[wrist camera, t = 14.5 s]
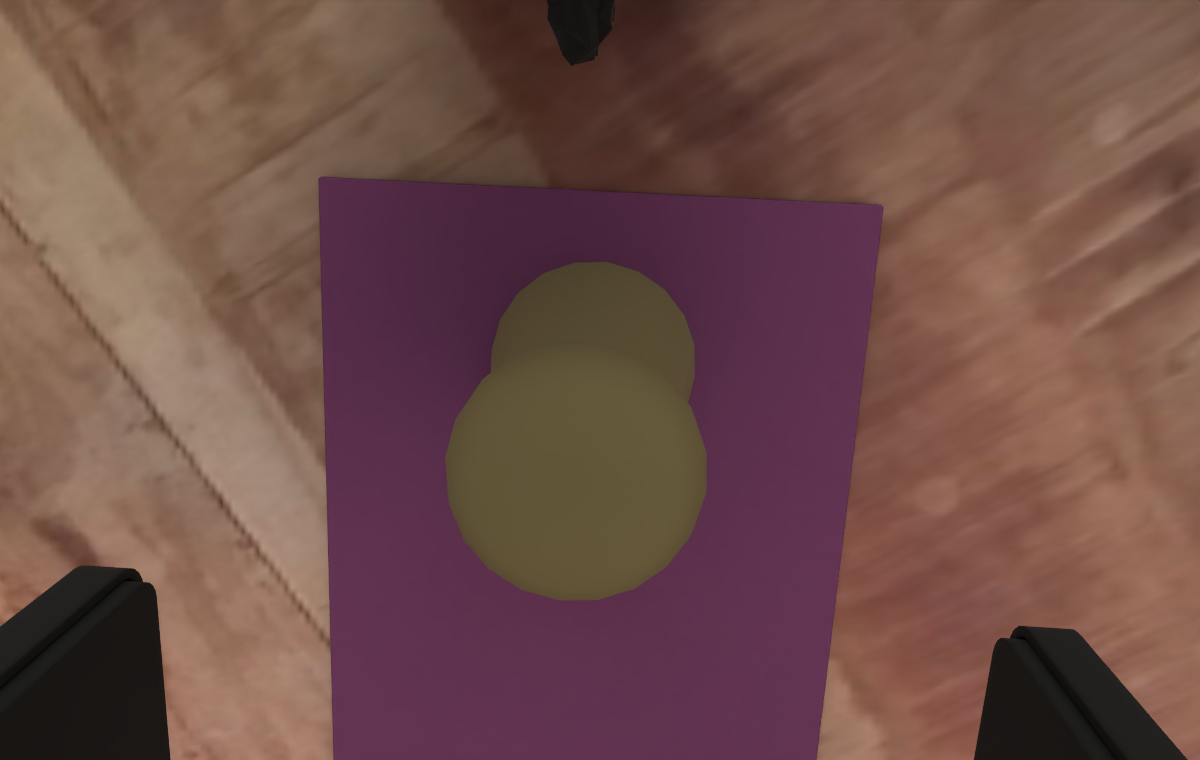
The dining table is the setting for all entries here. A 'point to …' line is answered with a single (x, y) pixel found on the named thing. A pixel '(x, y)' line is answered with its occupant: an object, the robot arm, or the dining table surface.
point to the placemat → (725, 522)
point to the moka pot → (580, 26)
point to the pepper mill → (581, 437)
